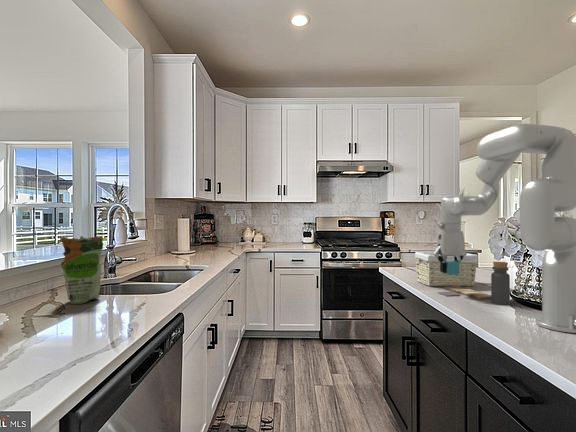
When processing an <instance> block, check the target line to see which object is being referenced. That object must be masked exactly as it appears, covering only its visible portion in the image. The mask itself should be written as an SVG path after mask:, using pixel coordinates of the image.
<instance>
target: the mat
mask: <svg viewBox="0 0 576 432" xmlns="http://www.w3.org/2000/svg"><path fill="white" fill-rule="evenodd" d="M437 294H439V295H443V296H446V297H458V296H459V297H460V296H461V294H459V293H455V292H452V291H438V292H437Z"/></svg>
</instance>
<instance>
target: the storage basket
mask: <svg viewBox="0 0 576 432" xmlns="http://www.w3.org/2000/svg"><path fill="white" fill-rule="evenodd" d="M434 252H435V251H415V253H414V258H415V267H416V268H415V269H416V280H417V282H419V283H421V284H423V285H426V286H428V287H451V286H460V287H474V286H475V283H476V282H475V279H476V271H477V265H478V261H479V260H478V259H479V255H478V254H473V253H467V252H466V253H467V255H466V256H465V257H463V259H462V260H461V262H460V263H459V274H456V275H447V274H444V273H441V272H440V262H439V260H438V259H437V258H436V257H435V256H434V255H433V253H434ZM439 256H440V255H439ZM443 257H444V256H443ZM446 260H453V261H454V258H453V256H447V259H446Z"/></svg>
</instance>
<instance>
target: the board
mask: <svg viewBox="0 0 576 432" xmlns="http://www.w3.org/2000/svg"><path fill="white" fill-rule="evenodd" d="M442 289H443V290H445V291H446V290H447V291H448V292H452V291H453V292H454V293H457V294H460V295H462V296H465V297H469V298H471V299H475V300H478V301H483V300H484V301H485V300H491V294H488V293H485V292H480V291H477V290H473V289H469V288H466V287H464V286H442Z"/></svg>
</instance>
